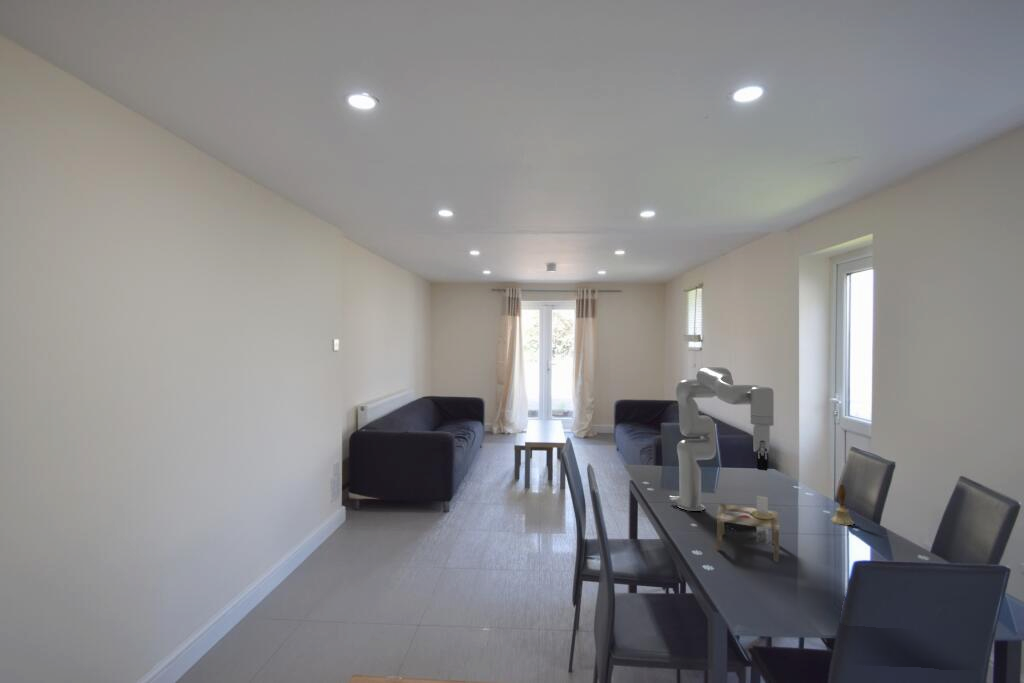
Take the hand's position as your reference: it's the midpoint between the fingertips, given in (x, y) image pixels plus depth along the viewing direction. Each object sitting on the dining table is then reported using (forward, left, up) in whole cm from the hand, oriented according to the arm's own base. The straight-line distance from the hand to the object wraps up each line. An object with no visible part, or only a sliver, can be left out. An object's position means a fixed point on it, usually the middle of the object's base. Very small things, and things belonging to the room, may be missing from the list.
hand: (762, 467), depth 170 cm
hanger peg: (0, 0, -27) cm, 27 cm away
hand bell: (+31, +48, -31) cm, 65 cm away
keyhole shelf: (-5, 0, -30) cm, 31 cm away
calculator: (-7, +24, -31) cm, 40 cm away
